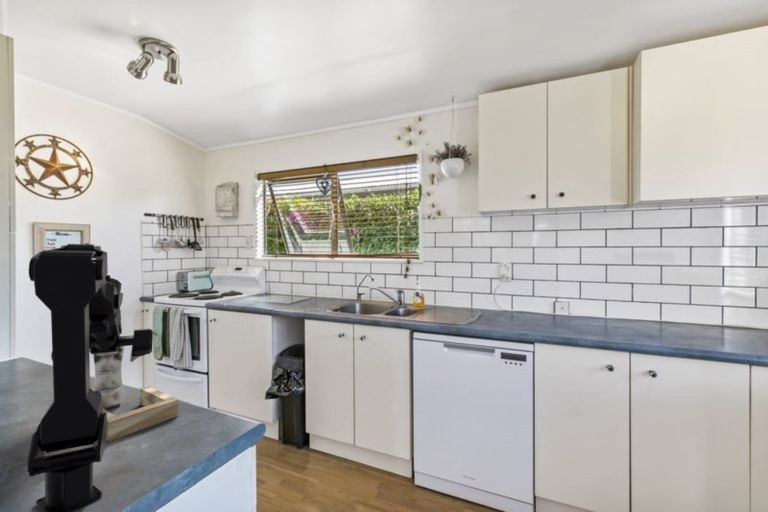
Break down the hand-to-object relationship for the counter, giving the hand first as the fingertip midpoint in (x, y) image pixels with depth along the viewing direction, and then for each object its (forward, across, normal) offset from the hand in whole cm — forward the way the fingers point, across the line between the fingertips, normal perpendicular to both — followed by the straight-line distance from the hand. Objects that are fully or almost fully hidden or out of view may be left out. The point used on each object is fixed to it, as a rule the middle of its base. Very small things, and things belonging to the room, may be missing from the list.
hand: (109, 362), depth 91 cm
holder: (-1, -6, +16) cm, 17 cm away
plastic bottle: (+7, 0, +9) cm, 11 cm away
